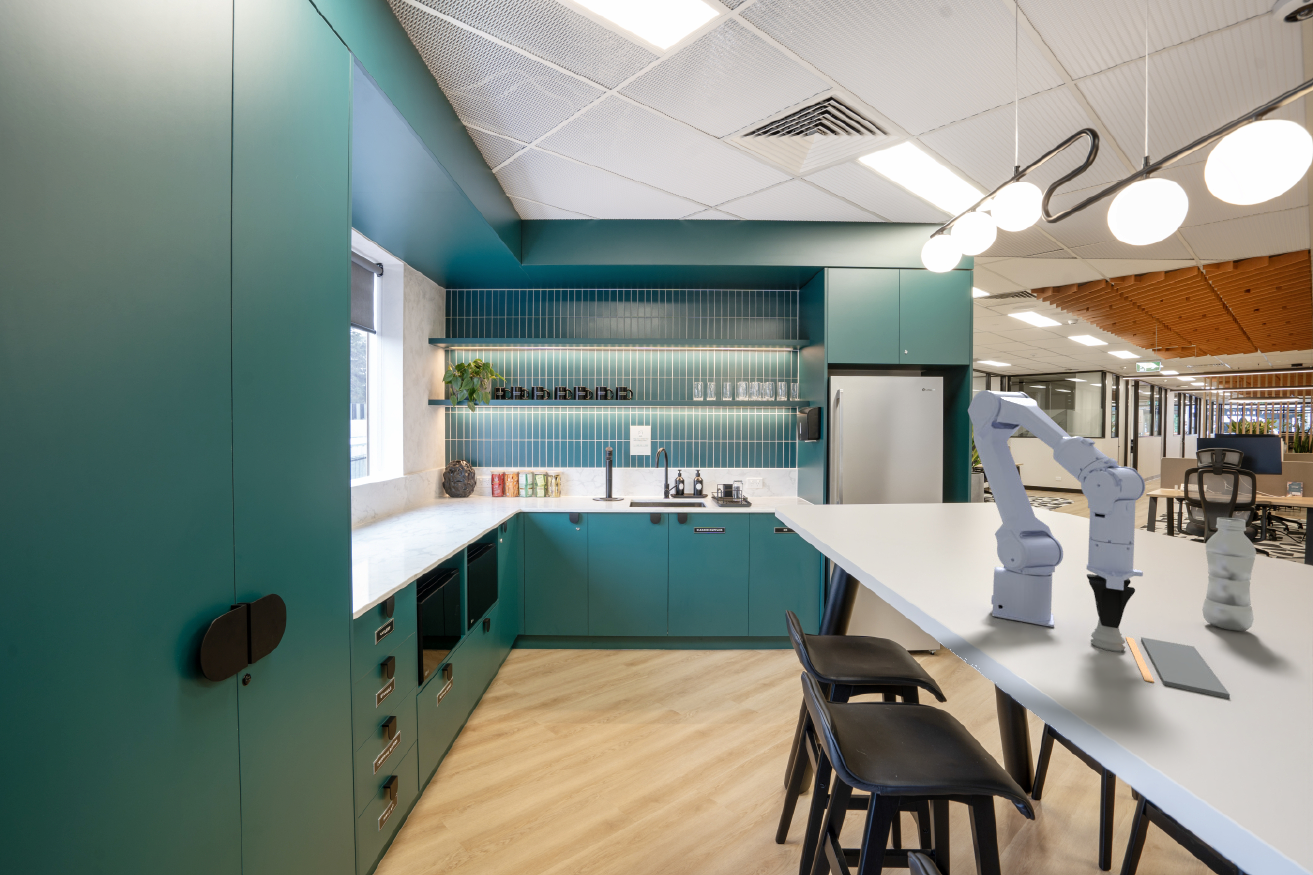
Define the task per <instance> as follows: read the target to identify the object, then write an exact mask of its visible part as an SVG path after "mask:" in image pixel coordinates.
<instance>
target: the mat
mask: <svg viewBox="0 0 1313 875" xmlns="http://www.w3.org/2000/svg"><path fill="white" fill-rule="evenodd" d="M1140 642H1141V644H1142V646H1143V647H1144V649H1145V651H1146V653H1147V655H1148V657H1149V659H1150V661H1151V663H1152V665H1153V667H1154V669H1155V670H1156V673H1157V675H1158V676H1159V678H1160V680H1161V681H1160V682H1162V684H1163V686H1166V687H1167V686H1168V687H1171V688H1177V689H1181V690H1186V691H1191V692H1197V693H1201V694H1206V695H1211V696H1216V697H1219V696H1220V697H1221V698H1225V699H1230V695H1231V694H1230V692H1229V691H1228V690H1227V688H1226V687H1225V686H1224V684H1223V683H1222V682H1221V681H1220V679H1219V678H1218V676H1216V673H1215V672H1214V671H1213V670H1212V669H1211V668H1210V666H1209V664H1208V663H1207V662H1206V661H1205V658H1204V657H1202V655H1201V654H1200V652H1199V650H1197V649H1196V647H1195V646H1193V645H1188V644H1187V645H1186V644H1183V643H1182V644H1181V643H1177V642H1176V643H1175V642H1170V641H1163V640H1159V639H1153V638H1149V637H1147V638H1146V637H1143V636H1142V637H1140ZM1220 697H1219V698H1220Z"/></svg>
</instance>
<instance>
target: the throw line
mask: <svg viewBox="0 0 1313 875" xmlns="http://www.w3.org/2000/svg"><path fill="white" fill-rule="evenodd" d="M1125 640H1126V641H1127V642H1126V643H1127V644H1128V647H1129V649H1130V651H1131V654H1132V656H1133V658H1134V660H1135V663H1136V665H1137V667H1138V669H1139V671H1140V673H1141V674H1140V675H1141V676H1142V678H1143V680H1144V681H1145V682H1148V683H1155V680H1154V678H1153V676H1152V673H1151V671H1150V670H1149V667H1148V666H1147V664H1146V662H1145V660H1144V658H1143V657H1144V656H1143V655H1142V653H1141V651H1140V648H1139V647H1138V645H1137V643H1136V640H1135V639H1134V638H1133V637H1128V636H1125Z"/></svg>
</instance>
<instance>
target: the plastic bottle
mask: <svg viewBox="0 0 1313 875" xmlns="http://www.w3.org/2000/svg"><path fill="white" fill-rule="evenodd" d="M1215 528H1216V529H1217V531H1216V532H1215V533H1214V534H1212V535H1211V536H1210V538H1209V539H1207V541H1206V543H1205V554H1206V560H1207V561H1206V562H1207V567H1208V568H1207V572H1208V577H1207V578H1208V584H1207V587H1206V588H1207V589H1206V596H1205V597H1206V598H1205V599H1204V602H1203V606H1202V616H1203V618H1204V620H1205V621H1206V622H1207V623H1208V624H1209V625H1211V626H1214V627H1217V628H1221V629H1224V630H1230V631H1242V632H1243V631H1248V630H1249V629H1251V628H1252V626H1253V623H1254V612H1253V611H1254V610H1253V607H1252V603H1251V602H1252V601H1251V590H1250V588H1251V582H1250V581H1251V580H1252V579H1251V578H1252V572H1253V567H1254V563H1255V560H1256V555H1257V550H1256V547H1255V544H1254V543H1252V541H1251V540H1250V538H1248V537H1247V535H1245V533H1244V532H1245V531H1247V528H1246V520H1245V519H1240V518H1232V517H1217V518H1216V525H1215Z"/></svg>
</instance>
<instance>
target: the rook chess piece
mask: <svg viewBox="0 0 1313 875" xmlns="http://www.w3.org/2000/svg"><path fill="white" fill-rule="evenodd" d="M1096 603H1097V602H1096V601H1095V604H1096ZM1098 613H1099V612H1097V614H1098ZM1097 621H1098V622H1097V626H1096V628H1095V629H1094V631H1093V632H1092V633H1091V635H1090V637H1091V639H1090V643H1092V645H1093V647H1096V648H1098V649H1101V650H1104V651H1108V652H1123V651H1124V650H1125V649H1126V646H1125V645H1124V644H1125V643H1126V641H1125V640H1126V639H1125V638H1124V637H1123V636H1122V633H1121V631H1120V626H1119V627H1118V628H1112V627H1106V626H1102V625H1101V622H1100V618H1099V617H1098V620H1097Z"/></svg>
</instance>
